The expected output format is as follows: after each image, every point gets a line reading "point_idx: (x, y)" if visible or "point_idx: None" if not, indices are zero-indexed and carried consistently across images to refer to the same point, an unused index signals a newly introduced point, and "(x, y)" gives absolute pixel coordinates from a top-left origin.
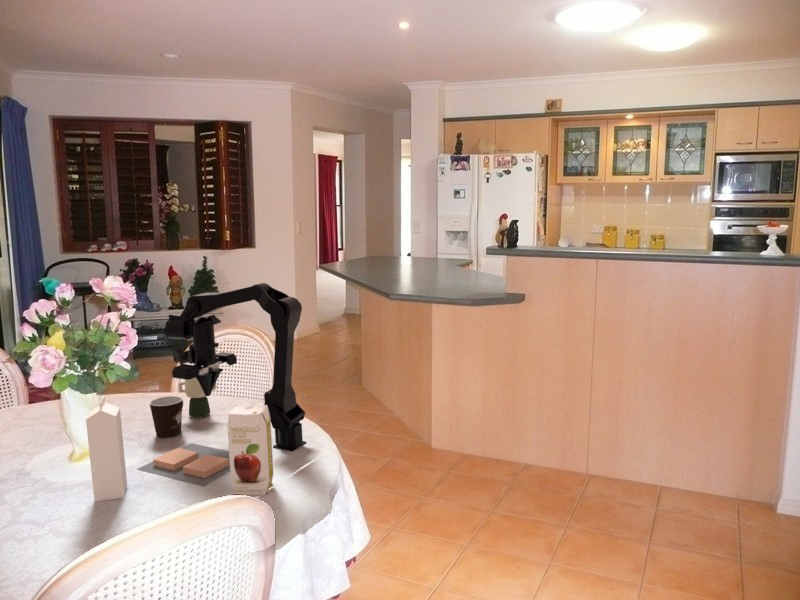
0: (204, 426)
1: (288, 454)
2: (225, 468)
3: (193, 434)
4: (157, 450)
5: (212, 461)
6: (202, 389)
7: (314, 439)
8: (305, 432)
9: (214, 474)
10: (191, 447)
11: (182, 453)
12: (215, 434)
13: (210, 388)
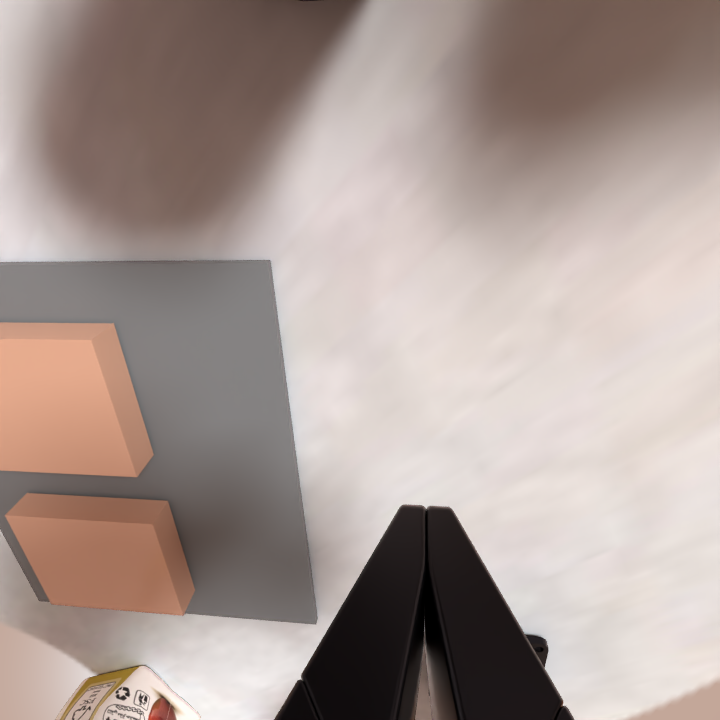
0: (633, 19)
1: None
2: None
3: (423, 98)
4: (67, 109)
5: (123, 580)
6: (352, 588)
7: (591, 702)
8: (670, 656)
9: None
10: (220, 316)
11: (71, 418)
12: (490, 269)
13: (414, 711)
